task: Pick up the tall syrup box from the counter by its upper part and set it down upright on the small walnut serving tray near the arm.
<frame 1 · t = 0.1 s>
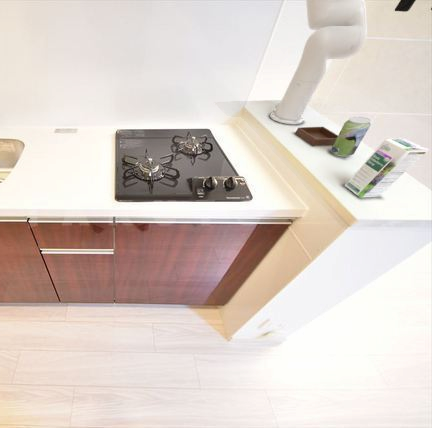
hand: (419, 10, 57), 37 cm above the countertop, tool pointing down, fingers open, 9 cm apart
syrup box: (360, 191, 64), on the countertop
tray: (315, 139, 87), on the countertop
beverage can: (337, 154, 79), on the countertop
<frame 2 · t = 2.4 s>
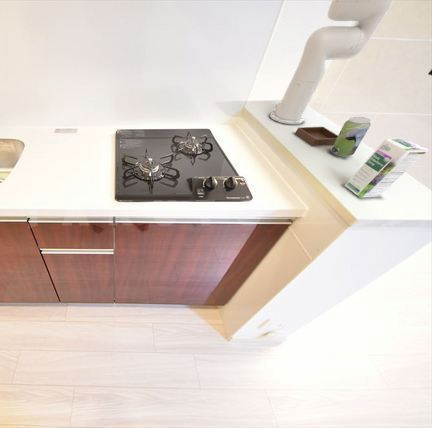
nothing on the countertop moved.
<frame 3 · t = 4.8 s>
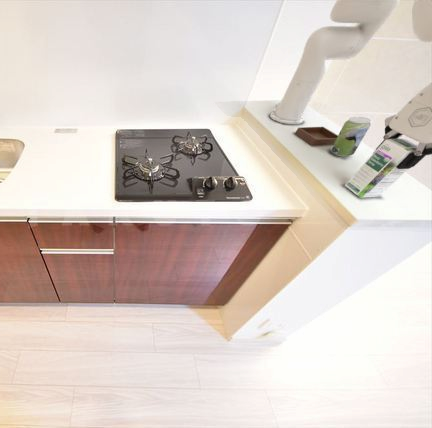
hand: (390, 160, 57), 10 cm above the countertop, tool pointing down, fingers closed on syrup box, 5 cm apart
syrup box: (360, 191, 64), on the countertop, touching gripper
everything else where it was.
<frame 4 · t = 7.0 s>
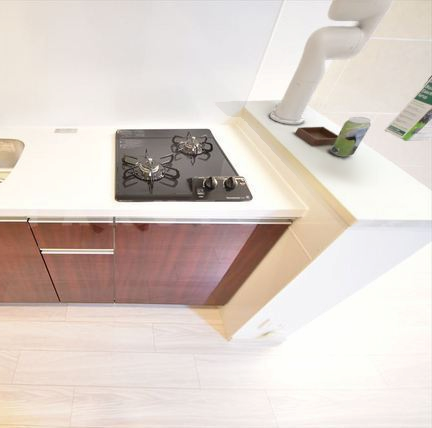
syrup box: (404, 136, 55), point 15 cm above the countertop, touching gripper
everything else where it was.
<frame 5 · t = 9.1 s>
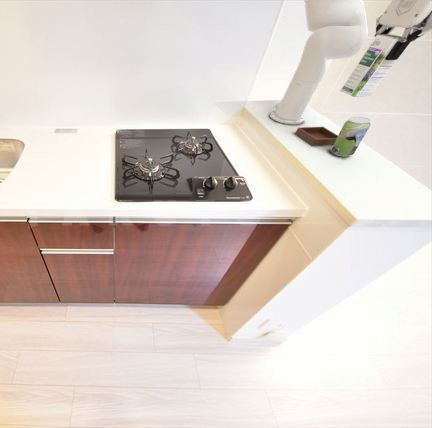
hand: (380, 56, 65), 27 cm above the countertop, tool pointing down, fingers closed on syrup box, 5 cm apart
syrup box: (354, 94, 72), point 17 cm above the countertop, touching gripper
everything else where it was.
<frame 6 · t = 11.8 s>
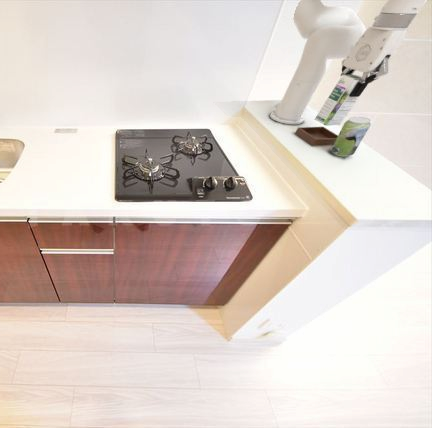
hand: (346, 92, 75), 16 cm above the countertop, tool pointing down, fingers closed on syrup box, 5 cm apart
syrup box: (326, 122, 82), point 6 cm above the countertop, touching gripper
everything else where it was.
when the fingers open (10 cm above the countertop, at t = 13.7 s): syrup box stays where it is, resting on tray.
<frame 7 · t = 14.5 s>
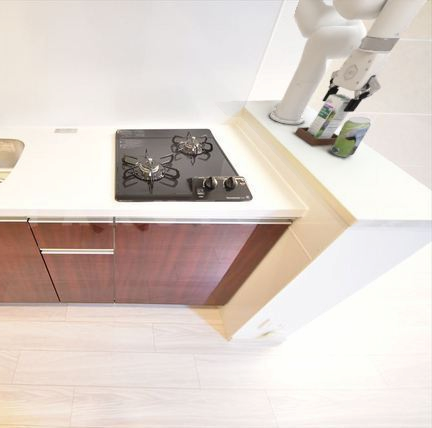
hand: (336, 106, 78), 12 cm above the countertop, tool pointing down, fingers open, 9 cm apart
syrup box: (316, 138, 86), resting on tray
everything else where it was.
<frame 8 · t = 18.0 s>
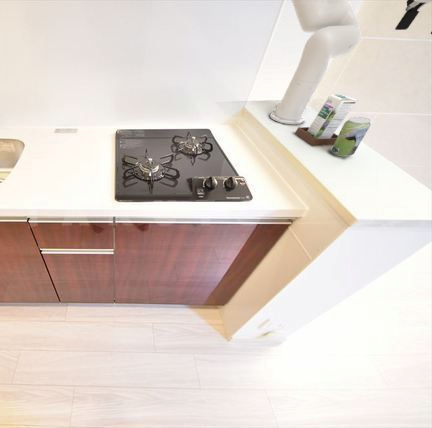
hand: (417, 31, 62), 32 cm above the countertop, tool pointing down, fingers open, 9 cm apart
nothing on the countertop moved.
at the end: syrup box 0.0 cm off-centre in the tray, point 0.3 cm above the tray's base; syrup box tilted 0°; the gripper is holding nothing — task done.
